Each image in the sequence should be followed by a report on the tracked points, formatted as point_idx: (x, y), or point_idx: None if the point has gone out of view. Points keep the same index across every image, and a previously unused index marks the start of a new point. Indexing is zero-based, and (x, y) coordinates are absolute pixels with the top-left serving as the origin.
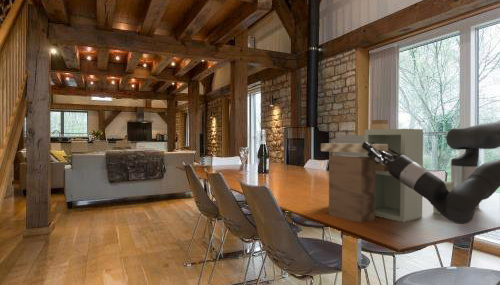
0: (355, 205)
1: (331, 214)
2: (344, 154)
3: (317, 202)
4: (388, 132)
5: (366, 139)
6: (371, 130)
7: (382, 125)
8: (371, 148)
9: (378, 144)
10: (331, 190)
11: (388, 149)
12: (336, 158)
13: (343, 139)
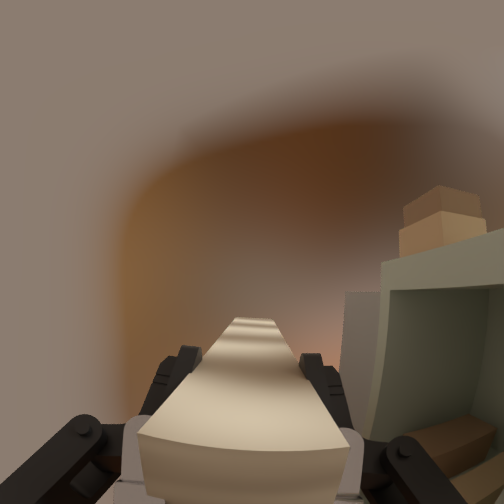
0: None
1: None
2: (357, 359)
3: None
4: (473, 266)
5: (384, 315)
6: (400, 263)
7: (444, 222)
8: (92, 421)
9: (153, 418)
10: None
11: (396, 467)
12: None
13: (358, 307)
